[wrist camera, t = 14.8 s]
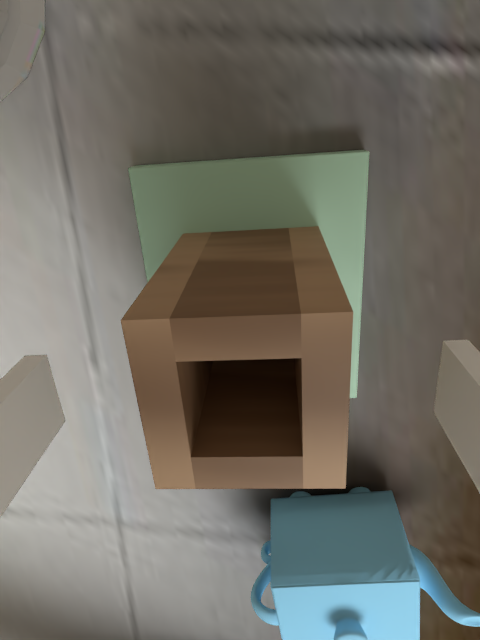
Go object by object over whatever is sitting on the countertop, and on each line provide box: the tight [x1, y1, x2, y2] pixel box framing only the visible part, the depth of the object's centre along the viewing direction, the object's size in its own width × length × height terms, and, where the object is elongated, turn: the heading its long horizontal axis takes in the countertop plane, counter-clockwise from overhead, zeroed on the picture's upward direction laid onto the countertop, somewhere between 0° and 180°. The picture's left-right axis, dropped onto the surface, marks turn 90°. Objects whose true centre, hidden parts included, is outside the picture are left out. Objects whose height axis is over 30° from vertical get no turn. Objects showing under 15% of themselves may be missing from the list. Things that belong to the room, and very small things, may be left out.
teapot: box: [251, 487, 480, 640], centre depth 25 cm, size 12×6×8 cm, turn 100°
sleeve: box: [121, 226, 353, 489], centre depth 17 cm, size 6×6×9 cm
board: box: [128, 150, 369, 398], centre depth 21 cm, size 12×10×1 cm
